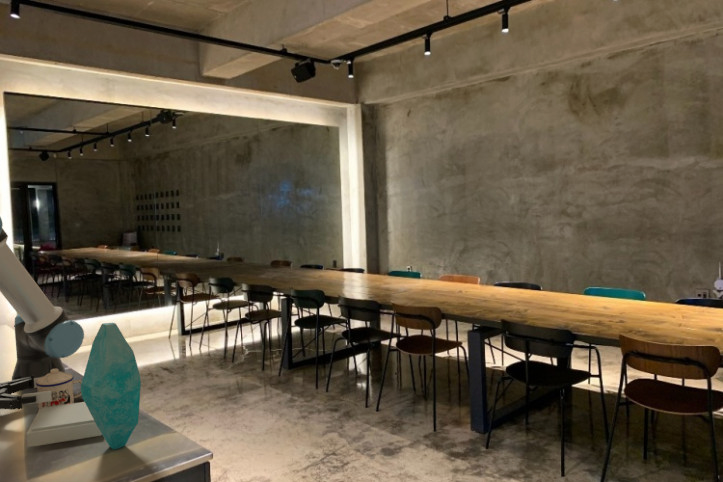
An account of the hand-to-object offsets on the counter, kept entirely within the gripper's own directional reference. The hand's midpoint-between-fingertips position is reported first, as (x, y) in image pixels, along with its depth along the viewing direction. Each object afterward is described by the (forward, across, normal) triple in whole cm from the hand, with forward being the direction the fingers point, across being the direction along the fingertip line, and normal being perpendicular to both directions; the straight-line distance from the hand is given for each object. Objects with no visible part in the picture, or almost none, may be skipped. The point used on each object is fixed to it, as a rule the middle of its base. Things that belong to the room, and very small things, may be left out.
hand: (55, 387), depth 146 cm
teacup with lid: (+1, -1, -7) cm, 7 cm away
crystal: (+18, +32, -7) cm, 37 cm away
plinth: (+5, +15, -6) cm, 18 cm away
